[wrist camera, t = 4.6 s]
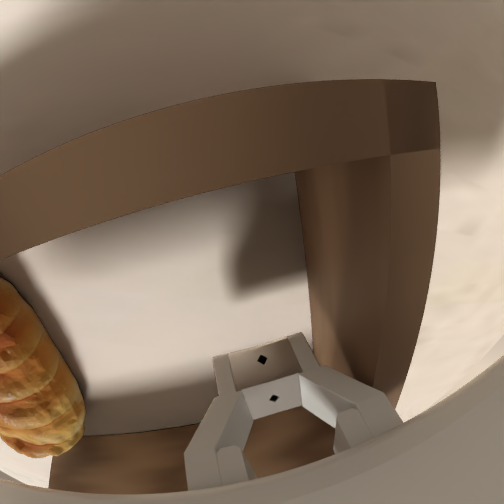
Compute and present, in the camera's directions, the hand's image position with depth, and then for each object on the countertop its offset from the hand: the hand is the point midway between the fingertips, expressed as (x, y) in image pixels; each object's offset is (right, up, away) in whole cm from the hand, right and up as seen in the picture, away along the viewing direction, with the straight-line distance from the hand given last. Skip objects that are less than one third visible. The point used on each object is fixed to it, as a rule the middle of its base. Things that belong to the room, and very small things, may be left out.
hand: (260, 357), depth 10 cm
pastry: (-12, -2, +1) cm, 12 cm away
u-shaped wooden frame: (-5, 0, +1) cm, 6 cm away
